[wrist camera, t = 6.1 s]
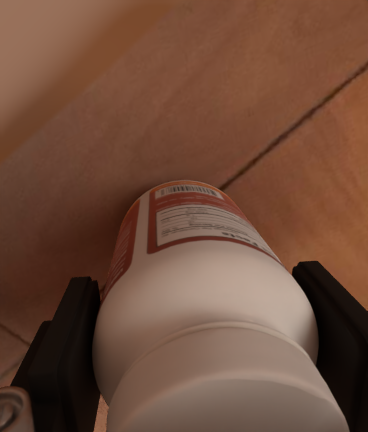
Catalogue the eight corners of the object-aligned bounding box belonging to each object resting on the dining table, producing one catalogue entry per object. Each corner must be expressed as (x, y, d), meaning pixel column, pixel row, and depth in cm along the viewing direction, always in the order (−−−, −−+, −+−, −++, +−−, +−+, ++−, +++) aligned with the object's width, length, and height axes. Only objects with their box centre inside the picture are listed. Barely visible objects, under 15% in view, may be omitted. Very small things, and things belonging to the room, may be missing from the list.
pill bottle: (170, 313, 18) (190, 612, 7) (93, 228, 16) (-26, 472, 6) (268, 247, 17) (443, 481, 7) (198, 149, 15) (291, 264, 5)
